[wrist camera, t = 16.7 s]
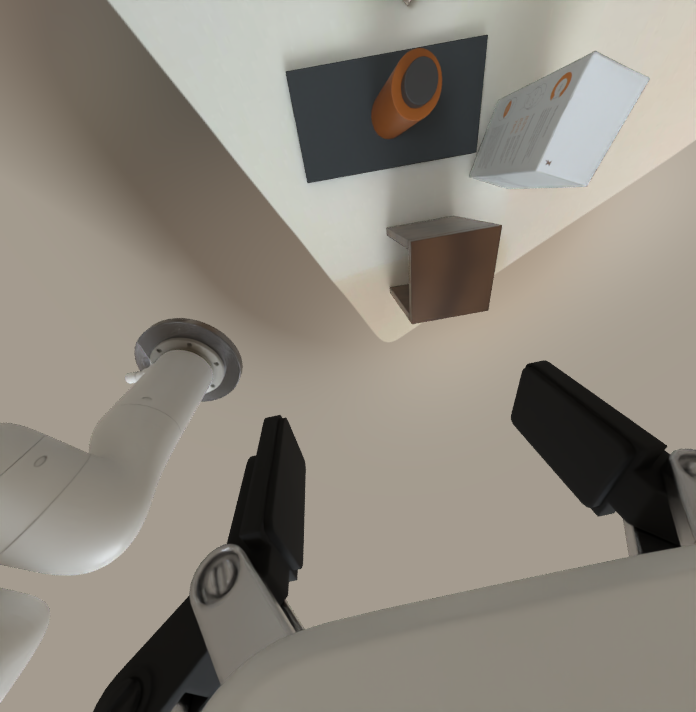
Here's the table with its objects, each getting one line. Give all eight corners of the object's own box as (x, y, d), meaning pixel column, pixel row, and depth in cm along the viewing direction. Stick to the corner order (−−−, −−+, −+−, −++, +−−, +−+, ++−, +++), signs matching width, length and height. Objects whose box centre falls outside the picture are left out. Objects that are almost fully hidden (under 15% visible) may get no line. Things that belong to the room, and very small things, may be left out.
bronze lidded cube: (390, 293, 43) (411, 324, 33) (386, 227, 38) (410, 241, 28) (449, 282, 43) (488, 310, 33) (453, 215, 38) (502, 225, 28)
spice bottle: (373, 142, 31) (396, 122, 22) (369, 92, 29) (393, 45, 20) (408, 135, 31) (446, 112, 22) (407, 85, 29) (450, 35, 20)
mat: (307, 183, 34) (307, 182, 33) (286, 74, 28) (285, 71, 27) (472, 153, 34) (476, 152, 33) (483, 38, 28) (488, 34, 27)
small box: (506, 189, 36) (587, 189, 25) (467, 177, 35) (534, 172, 24) (540, 114, 32) (654, 75, 21) (497, 98, 31) (594, 48, 20)
